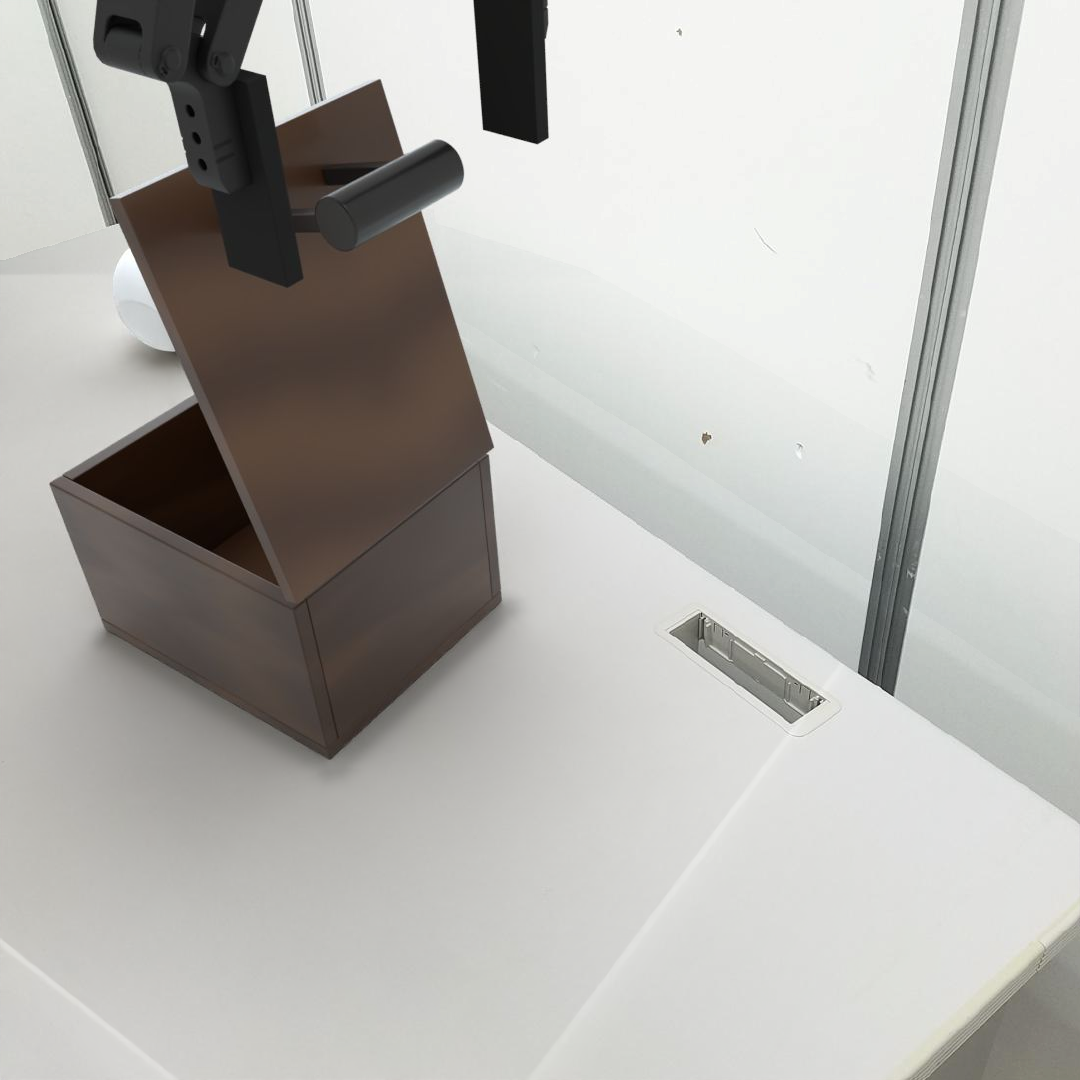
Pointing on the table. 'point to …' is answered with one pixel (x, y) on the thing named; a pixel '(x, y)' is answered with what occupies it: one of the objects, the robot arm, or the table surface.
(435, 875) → the table surface
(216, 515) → the compartment
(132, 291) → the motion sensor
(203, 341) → the compartment door
